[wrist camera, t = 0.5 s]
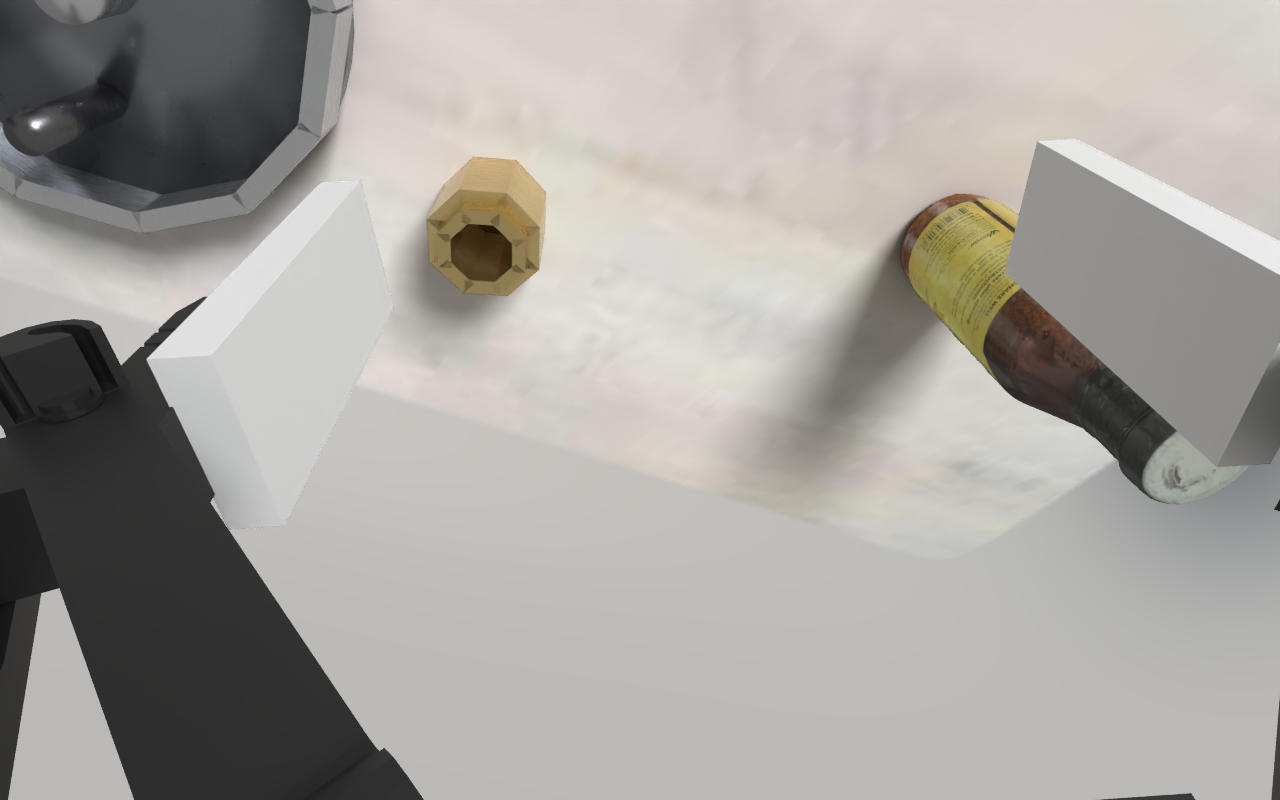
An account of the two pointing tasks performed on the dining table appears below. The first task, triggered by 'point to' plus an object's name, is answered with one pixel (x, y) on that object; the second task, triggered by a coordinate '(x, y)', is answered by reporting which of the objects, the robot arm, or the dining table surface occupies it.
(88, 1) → the dark pot lid
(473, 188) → the tan octagonal cup
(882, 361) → the dining table surface
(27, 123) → the pin
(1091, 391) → the sauce bottle
